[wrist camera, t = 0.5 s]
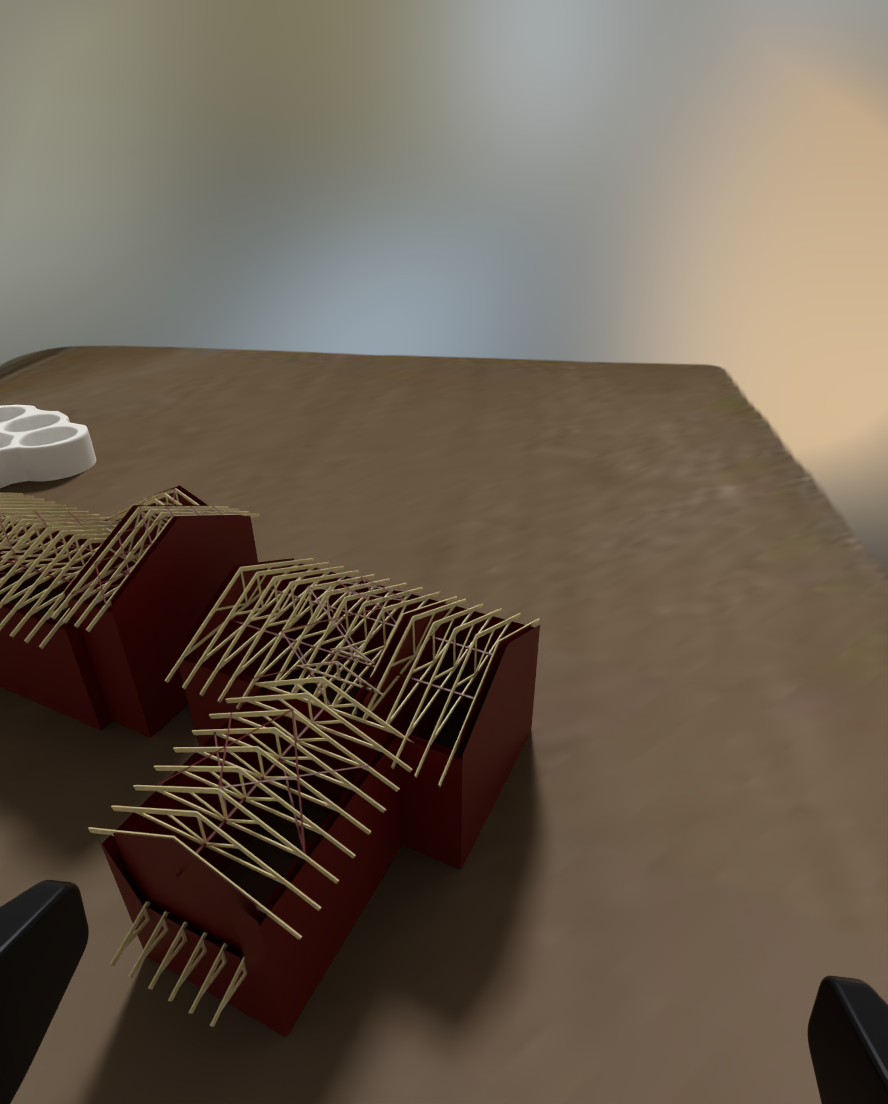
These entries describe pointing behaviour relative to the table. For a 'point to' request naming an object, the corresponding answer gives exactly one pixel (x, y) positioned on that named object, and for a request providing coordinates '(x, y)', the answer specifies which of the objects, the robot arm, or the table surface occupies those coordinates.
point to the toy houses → (260, 725)
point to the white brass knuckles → (41, 445)
